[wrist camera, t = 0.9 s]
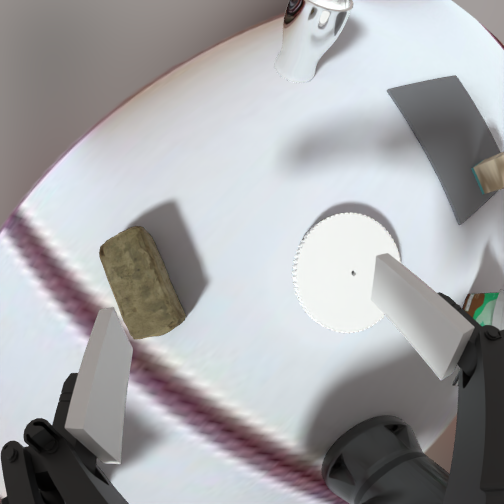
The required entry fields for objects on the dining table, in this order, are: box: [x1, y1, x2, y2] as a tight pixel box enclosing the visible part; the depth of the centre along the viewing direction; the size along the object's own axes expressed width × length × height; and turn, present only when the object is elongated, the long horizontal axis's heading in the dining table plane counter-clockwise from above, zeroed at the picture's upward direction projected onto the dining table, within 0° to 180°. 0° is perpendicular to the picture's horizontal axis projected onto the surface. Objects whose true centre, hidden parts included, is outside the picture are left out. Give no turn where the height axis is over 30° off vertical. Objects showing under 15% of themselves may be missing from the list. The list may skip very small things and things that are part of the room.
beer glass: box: [274, 0, 353, 83], centre depth 27 cm, size 7×7×15 cm
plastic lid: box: [292, 212, 401, 333], centre depth 33 cm, size 14×14×2 cm
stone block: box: [99, 226, 186, 339], centre depth 29 cm, size 6×12×5 cm, turn 24°
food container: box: [462, 289, 504, 330], centre depth 31 cm, size 12×6×10 cm, turn 43°
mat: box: [387, 76, 500, 225], centre depth 38 cm, size 24×24×1 cm
